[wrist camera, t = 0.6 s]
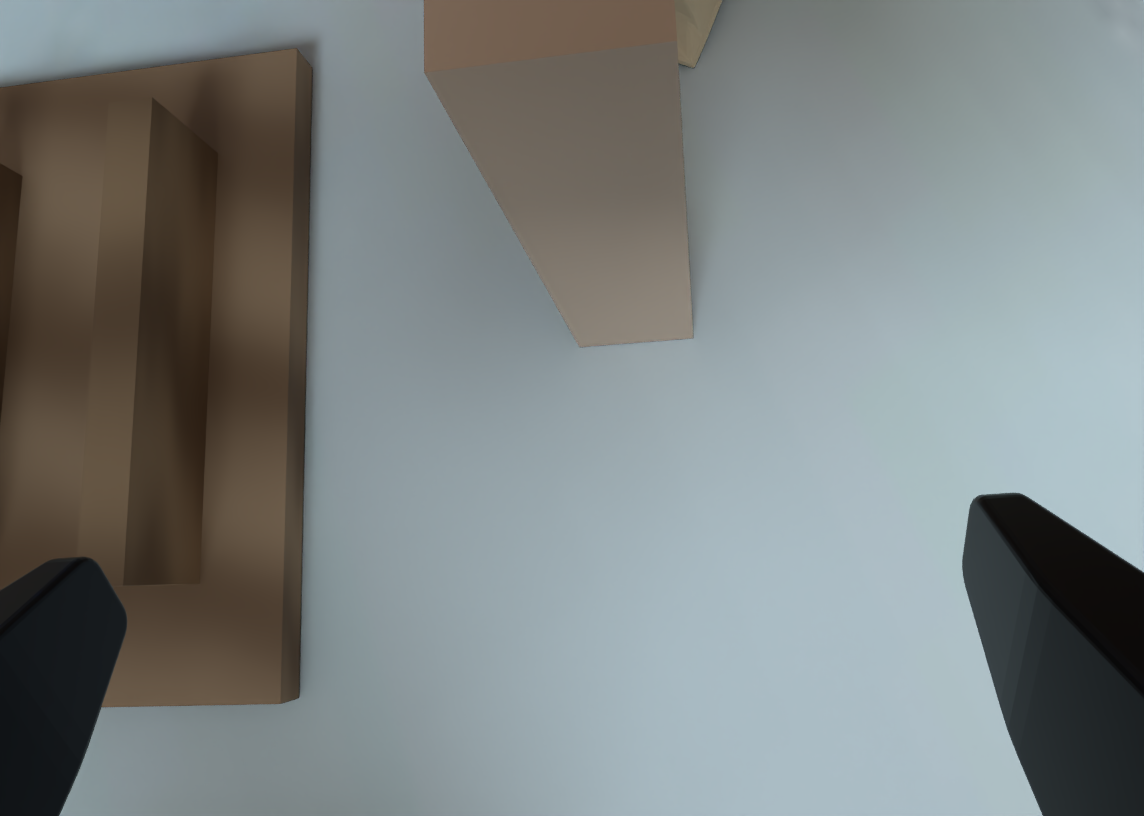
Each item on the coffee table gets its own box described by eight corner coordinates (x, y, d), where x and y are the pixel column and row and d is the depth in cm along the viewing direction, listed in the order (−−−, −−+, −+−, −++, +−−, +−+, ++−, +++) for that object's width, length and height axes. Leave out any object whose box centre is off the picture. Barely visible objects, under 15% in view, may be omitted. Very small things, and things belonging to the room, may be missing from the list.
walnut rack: (299, 697, 22) (212, 724, 18) (-108, 706, 24) (-266, 732, 20) (312, 68, 26) (242, -22, 22) (-45, 113, 27) (-169, 38, 24)
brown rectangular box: (683, 195, 23) (657, -251, 11) (693, 338, 22) (677, 40, 10) (573, 205, 24) (422, -210, 11) (579, 347, 23) (424, 72, 10)
